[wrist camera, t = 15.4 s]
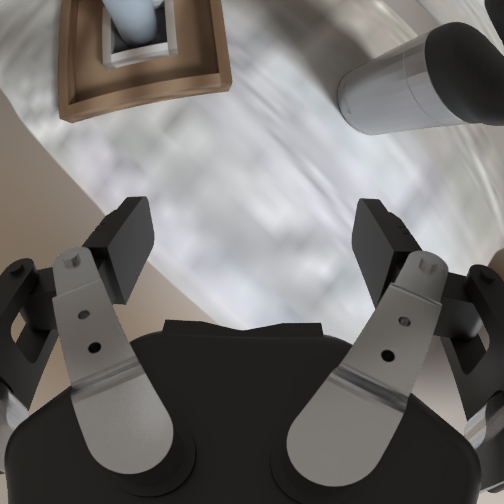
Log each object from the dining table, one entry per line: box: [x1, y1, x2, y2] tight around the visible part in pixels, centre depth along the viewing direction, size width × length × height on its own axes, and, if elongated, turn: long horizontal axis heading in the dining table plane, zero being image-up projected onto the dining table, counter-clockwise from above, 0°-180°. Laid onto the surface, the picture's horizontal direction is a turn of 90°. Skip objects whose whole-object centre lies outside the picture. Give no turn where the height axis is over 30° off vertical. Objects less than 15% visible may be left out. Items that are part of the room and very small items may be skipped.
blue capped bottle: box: [102, 0, 159, 48], centre depth 21 cm, size 4×4×14 cm
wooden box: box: [58, 0, 232, 123], centre depth 27 cm, size 19×19×4 cm
